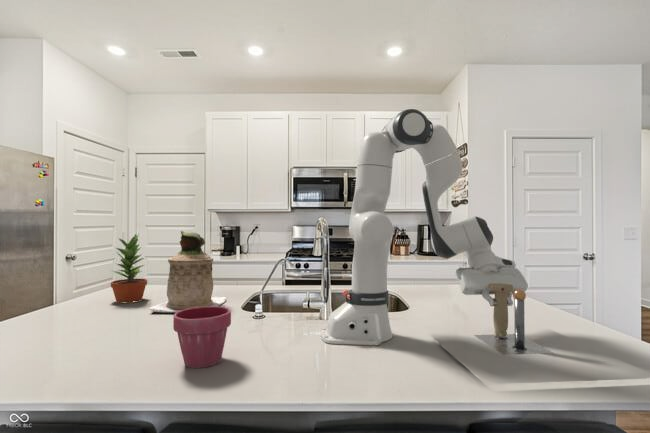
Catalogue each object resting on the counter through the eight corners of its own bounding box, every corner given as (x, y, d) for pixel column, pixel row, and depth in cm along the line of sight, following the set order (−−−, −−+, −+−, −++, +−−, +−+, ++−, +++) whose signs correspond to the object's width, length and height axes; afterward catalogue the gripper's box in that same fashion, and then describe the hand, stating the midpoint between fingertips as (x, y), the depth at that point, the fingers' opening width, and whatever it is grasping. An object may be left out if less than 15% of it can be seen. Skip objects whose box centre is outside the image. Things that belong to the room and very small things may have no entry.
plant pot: (187, 351, 102) (187, 305, 102) (237, 351, 102) (237, 305, 102) (163, 372, 88) (163, 319, 88) (221, 373, 88) (221, 319, 88)
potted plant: (101, 304, 159) (101, 234, 159) (126, 296, 174) (126, 233, 174) (132, 305, 156) (132, 235, 156) (154, 297, 171) (154, 233, 171)
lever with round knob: (517, 350, 99) (517, 290, 99) (510, 346, 102) (510, 288, 102) (528, 350, 99) (528, 290, 99) (521, 346, 102) (521, 288, 102)
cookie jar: (210, 314, 141) (210, 231, 142) (146, 314, 142) (146, 231, 142) (228, 300, 166) (227, 229, 166) (174, 300, 167) (174, 229, 167)
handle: (514, 338, 106) (514, 287, 106) (490, 336, 108) (490, 286, 108) (510, 333, 111) (510, 284, 111) (487, 331, 113) (487, 283, 113)
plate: (503, 359, 96) (503, 354, 96) (473, 339, 112) (473, 334, 112) (554, 357, 97) (554, 352, 97) (517, 337, 113) (517, 333, 113)
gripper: (456, 261, 116) (471, 299, 106) (519, 261, 117) (539, 298, 107) (451, 273, 120) (464, 311, 110) (511, 273, 122) (529, 310, 112)
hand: (502, 305), depth 109 cm, fingers closed on handle, 3 cm apart
